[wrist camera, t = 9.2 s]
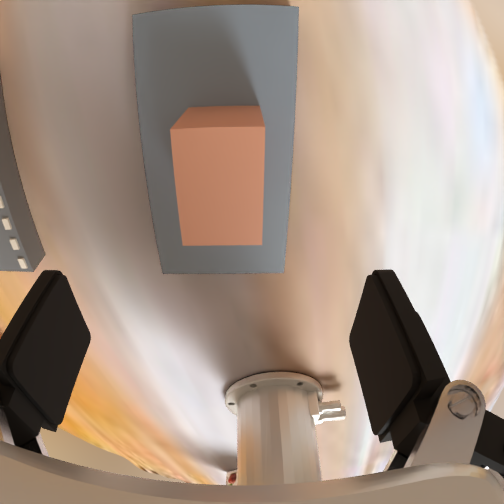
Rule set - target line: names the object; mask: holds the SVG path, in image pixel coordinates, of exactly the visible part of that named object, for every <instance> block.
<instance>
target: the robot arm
mask: <svg viewBox="0 0 504 504" xmlns="http://www.w3.org/2000/svg"><path fill="white" fill-rule="evenodd" d="M90 340H91V335H90V332H89V329H88V327H87V325H86V323H85V321H84V318H83V316H82V314H81V311H80V309H79V307H78V304H77V302H76V300H75V297H74V295H73V292H72V290H71V287H70V285H69V282H68V280H67V278H66V276H65V275H63V274H62V272H61V271H58V270H45V271H43V272H42V273H41V274H40V276H39V277H38V279H37V280H36V282H35V283H34V285H33V286H32V288H31V289H30V291H29V292H28V294H27V296H26V297H25V299H24V300H23V302H22V303H21V305H20V307H19V308H18V310H17V311H16V313H15V315H14V316H13V318H12V320H11V321H10V323H9V325H8V327H7V328H6V330H5V332H4V333H3V335H2V337H1V339H0V504H504V419H502V418H500V417H498V416H496V415H494V414H493V413H491V412H489V411H487V410H485V407H486V403H485V399H484V396H483V394H482V392H481V391H480V390H479V389H478V388H477V386H475V385H474V384H472V383H471V382H468V381H465V380H455V381H452V382H450V379H449V377H448V375H447V372H446V370H445V368H444V366H443V363H442V361H441V359H440V357H439V355H438V353H437V350H436V348H435V346H434V344H433V342H432V340H431V338H430V336H429V334H428V332H427V330H426V328H425V325H424V323H423V321H422V319H421V318H420V316H419V314H418V313H417V312H416V311H415V310H414V308H413V306H412V304H411V302H410V300H409V298H408V296H407V294H406V292H405V291H404V289H403V287H402V285H401V283H400V281H399V279H398V278H397V276H396V274H395V272H394V271H393V270H374V271H373V273H372V275H368V276H367V279H366V282H365V286H364V289H363V293H362V296H361V300H360V303H359V307H358V310H357V313H356V317H355V320H354V323H353V326H352V330H351V333H350V338H349V342H350V348H351V351H352V355H353V358H354V362H355V366H356V369H357V373H358V377H359V380H360V384H361V388H362V392H363V396H364V400H365V404H366V408H367V412H368V416H369V420H370V424H371V428H372V432H373V434H374V435H378V437H379V441H380V443H381V442H386V441H391V440H392V442H393V446H394V449H395V451H394V453H393V455H392V456H391V458H390V460H389V462H388V464H387V465H386V467H385V469H384V471H383V472H379V473H374V474H368V475H362V476H356V477H349V478H342V479H334V480H326V481H322V474H321V466H320V458H319V450H318V443H317V435H316V428H315V426H316V425H317V424H322V421H337V420H344V419H345V416H346V411H345V407H344V406H341V403H340V401H339V400H338V401H330V402H323V403H322V399H323V392H322V387H321V385H320V384H319V382H317V381H316V380H315V379H313V378H311V377H309V376H306V375H303V374H299V373H293V372H269V373H261V374H257V375H252V376H250V377H247V378H244V379H242V380H240V381H238V382H236V383H235V384H233V385H232V386H231V387H230V388H229V389H228V390H227V392H226V395H225V404H226V407H227V408H228V410H229V411H231V412H232V413H233V414H235V415H237V475H238V485H206V484H191V483H179V482H169V481H160V480H153V479H146V478H139V477H133V476H127V475H121V474H116V473H111V472H106V471H101V470H97V469H92V468H88V467H84V466H80V465H76V464H72V463H68V462H65V461H61V460H58V459H54V458H51V457H49V455H48V453H47V450H46V448H45V445H44V443H43V440H42V438H41V435H40V429H41V427H42V428H44V429H47V430H50V431H54V432H56V430H57V427H58V425H59V424H61V423H62V421H63V418H64V415H65V412H66V408H67V405H68V402H69V399H70V396H71V393H72V390H73V387H74V384H75V382H76V379H77V376H78V373H79V370H80V368H81V365H82V362H83V360H84V357H85V354H86V352H87V349H88V346H89V344H90Z"/></svg>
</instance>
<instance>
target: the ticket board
mask: <svg viewBox="0 0 504 504" xmlns="http://www.w3.org/2000/svg"><path fill="white" fill-rule="evenodd" d="M44 256H45V252H44V250H43V247H42V245H41V242H40V239H39V236H38V234H37V231H36V228H35V225H34V222H33V219H32V216H31V213H30V210H29V207H28V204H27V201H26V197H25V194H24V190H23V187H22V183H21V180H20V176H19V172H18V169H17V165H16V161H15V156H14V152H13V148H12V143H11V139H10V134H9V129H8V123H7V118H6V112H5V106H4V99H3V92H2V85H1V76H0V271H25V272H34V270H35V269H36V267H37V266H38V265H39V263H40V262H41V260H42V259H43V257H44Z"/></svg>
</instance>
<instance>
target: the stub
mask: <svg viewBox="0 0 504 504" xmlns="http://www.w3.org/2000/svg"><path fill="white" fill-rule="evenodd" d="M298 17H299V7H295V6H279V5H213V6H197V7H185V8H176V9H167V10H160V11H152V12H146V13H140V14H134V15H132V19H133V48H134V66H135V81H136V94H137V105H138V116H139V125H140V135H141V143H142V151H143V159H144V167H145V174H146V181H147V188H148V194H149V201H150V207H151V213H152V219H153V225H154V231H155V236H156V242H157V247H158V252H159V257H160V262H161V267H162V272H163V274H236V273H284V266H285V254H286V242H287V230H288V217H289V203H290V189H291V174H292V158H293V141H294V123H295V103H296V80H297V53H298Z"/></svg>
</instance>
